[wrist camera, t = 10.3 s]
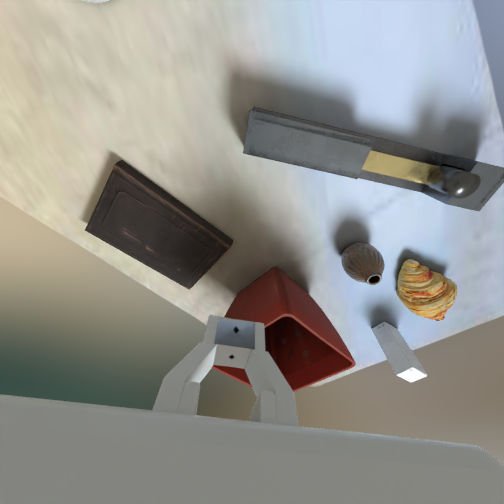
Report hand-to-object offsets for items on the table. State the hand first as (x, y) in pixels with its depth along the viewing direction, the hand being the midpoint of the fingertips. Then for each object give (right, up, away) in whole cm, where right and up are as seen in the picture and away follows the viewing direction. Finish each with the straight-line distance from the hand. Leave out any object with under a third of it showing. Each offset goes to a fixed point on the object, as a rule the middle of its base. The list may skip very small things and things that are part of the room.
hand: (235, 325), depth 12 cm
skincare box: (+37, -17, +45) cm, 60 cm away
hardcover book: (-17, +8, +31) cm, 36 cm away
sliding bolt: (+22, +18, +21) cm, 36 cm away
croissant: (+39, -3, +36) cm, 54 cm away
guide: (+19, +19, +22) cm, 34 cm away
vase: (+22, +4, +32) cm, 39 cm away
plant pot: (+6, -6, +39) cm, 40 cm away
